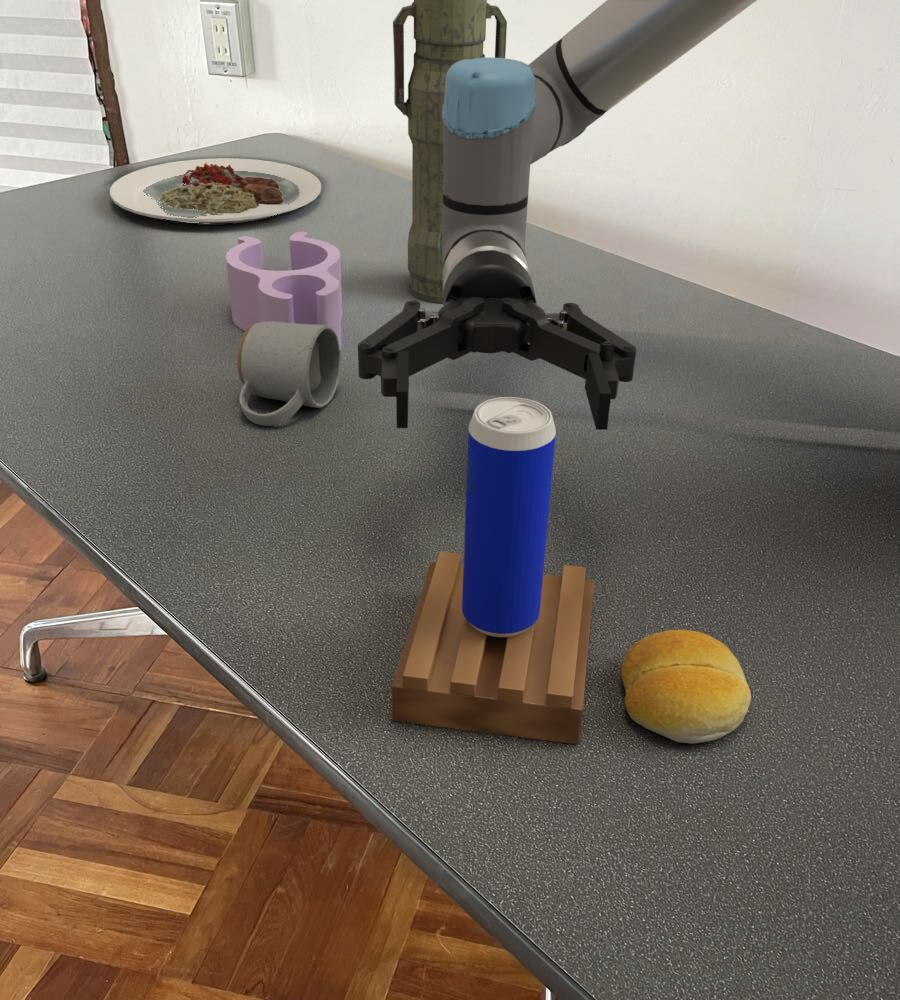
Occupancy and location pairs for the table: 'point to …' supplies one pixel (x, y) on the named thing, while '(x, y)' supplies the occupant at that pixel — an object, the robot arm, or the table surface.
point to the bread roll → (685, 686)
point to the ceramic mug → (288, 367)
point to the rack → (496, 661)
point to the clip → (286, 284)
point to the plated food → (215, 190)
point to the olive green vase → (434, 115)
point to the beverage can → (506, 514)
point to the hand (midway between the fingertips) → (503, 411)
